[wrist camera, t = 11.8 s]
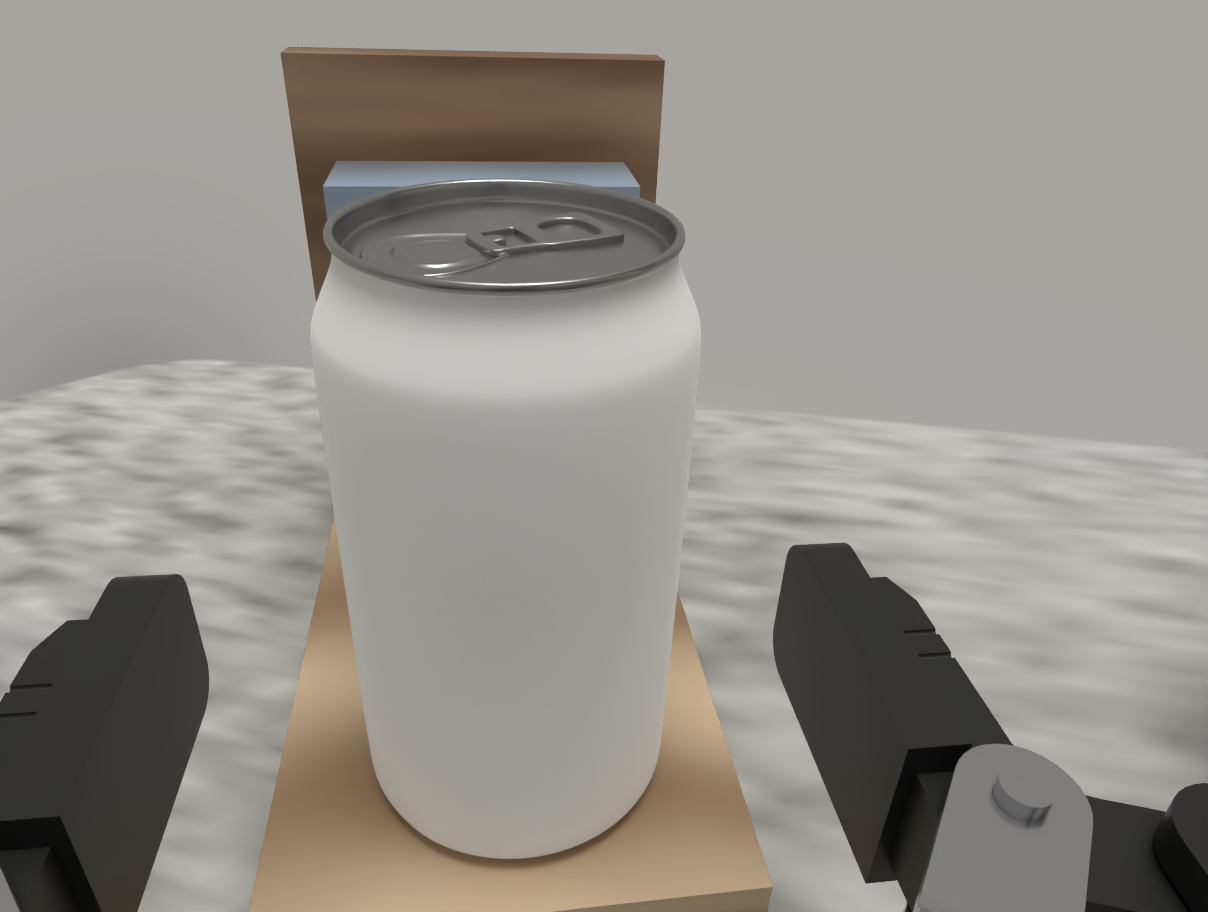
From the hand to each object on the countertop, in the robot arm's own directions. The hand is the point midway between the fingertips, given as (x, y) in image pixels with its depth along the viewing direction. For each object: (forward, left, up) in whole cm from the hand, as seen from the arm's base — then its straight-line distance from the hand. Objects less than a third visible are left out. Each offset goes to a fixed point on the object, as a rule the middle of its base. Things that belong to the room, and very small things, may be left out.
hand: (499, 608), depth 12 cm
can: (-3, -4, -8) cm, 9 cm away
